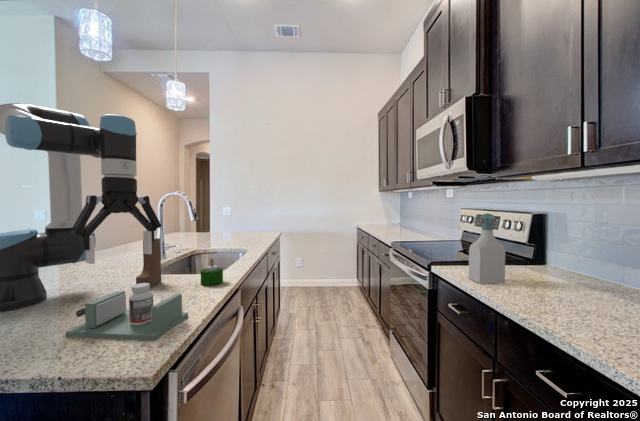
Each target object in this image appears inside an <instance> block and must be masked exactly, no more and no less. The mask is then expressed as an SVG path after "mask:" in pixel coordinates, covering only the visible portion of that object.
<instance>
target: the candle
mask: <svg viewBox="0 0 640 421" xmlns="http://www.w3.org/2000/svg"><path fill="white" fill-rule="evenodd" d="M214 261H215V260H214V259H213V258H210V259H209V264H210V265H207V266H206V267H205V268H203V269H200V285H201V286H202V287H207V286H209V287H216V286H220V285H222V284H224V268H222V267H218V265H214Z"/></svg>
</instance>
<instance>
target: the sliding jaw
mask: <svg viewBox="0 0 640 421" xmlns="http://www.w3.org/2000/svg"><path fill="white" fill-rule="evenodd" d="M126 310H127V293H126V291H125V290H116V291H113V292H111V293H109V294H106V295H103V296H100V297H98V298H95V299H94V300H91V301H88V302H85V303H84V307H83V308H81V309H78V310H76V311H75V315H76V317H77V318H78V317H79V318H80V317H82V316H84V315H85V316H84V318H85V320H84V323H86V328H95V327H97V326H99V325H101V324H103V323H105V322H107V321H109V320H111V319H113V318H115V317H117V316H119V315H121V314H123V313H125V312H126Z"/></svg>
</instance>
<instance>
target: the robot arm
mask: <svg viewBox="0 0 640 421" xmlns="http://www.w3.org/2000/svg"><path fill="white" fill-rule="evenodd" d="M98 125H99V128H96V127H91V125H90V123H89V120H88V119H87V118H86V117H85V116H83V115H82V114H79V113H74V112H71V111H69V110H68V111H66V110H61V109H54V108H49V107H44V106H38V105H34V104H29V103H20V102H19V103H17V102H16V103H15V102H14V103H3V104H0V134H1V135H4V136H5V141H6V143H7V145H8V146H10V147H12V148H15V149H16V148H18V149H24V150H27V151H44V152H46V153H47V155H48V156H47V159H48V182H49V183H48V184H49V185H48V186H49V207H50V208H49V209H50V223H48V224H47V225H45V226H44V232H38V230H37V228H34V229H33V228H31V229H30V228H28V229H19V230H13V231H6V232H1V233H0V312H6V311H13V310H17V309H18V310H19V309H21V308H26V307H29V306H33V305H36V304H39V303H41V302H44V301H45V300H47V299H48V294H47V293H48V292H47V290H46V288H45V285H44V284H43V281H42V280H41V278H40V275H39V272H40V271H39V269H40V268H45V267H52V266H61V265H67V264H76V263H80V262H85V263H86V264H89V265H93V264H96V259H95V258H96V257H95V256H96V253H95V248H96V242H97V241H96V238H97V237H96V234H95V231H96V229H97V228H99V226H100V225H102V223H103V221H105V220H106V219H107V218H108V216H110V215H111V214H121V213H122V214H123V213H124V214H128V213H129V214H131V215H132V216H133V217H134V218H135V219H136V220H137V221H138V222H139V223H140V224H141V225H142V227H144V228H145V230H143V231H142V232H143V234H142V235H143V238H142V241H143V240H144V254H152V242H154V238H155V231H157V230H158V229H160V228H162V224H161V222H160V220H159V218H158V217H157V214H156V213H155V211H154V208H153V206H152V205H151V203H150V202H151V201H150V196H148V195H141V196H138V195H137V194H138V193H137V192H138V182H137V181H138V180H137V179H136V178H135V177H137V175H138V173H137V172H138V171H137V170H138V169H137V128H136V122H135V120H134V119H133V118H130V117H129V116H125V115H119V114H111V113H110V114H109V113H108V114H103V115H101V117H100V120H99V124H98ZM82 155H83V156H91V157H92V158H98V159H100V164H101V166H100V169H101V170H100V171H101V172H100V174H101V175H102V176H103V177H102V178H101V196H97V195H92V194H91V195H89V194H88V195H86V197H85V198H86V199H85V205H84V206H83V194H82V193H83V192H82V191H83V190H82V188H83V187H82V167H81V166H82V165H81V164H82V163H81V156H82ZM100 202H101V204H102V207H101V208H100V209H99V211H98V212H97V214H96V215H95V216H94V217H93V218H92V219H91V220H90V218H91V216H92V214H93V213H94V211H95V208H96V207H97V205H99V204H100ZM138 203H139V204H140V206H141V208H142V209H143V212H144V213H145V215H146V216H145V215H144V214H143V213H142V212H141V210H140V209H139V208H138V206H136V205H137V204H138ZM89 220H90V221H89ZM88 221H89V222H88Z"/></svg>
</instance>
